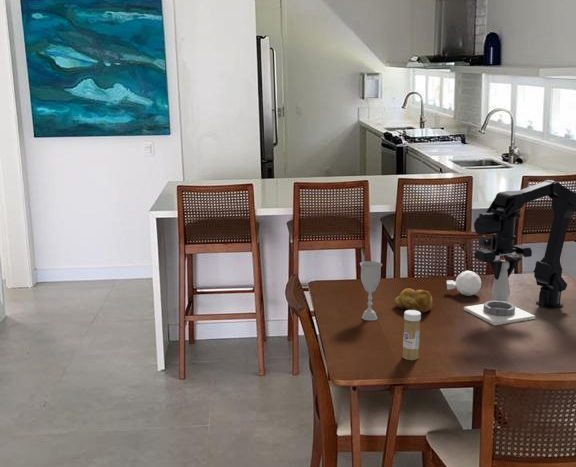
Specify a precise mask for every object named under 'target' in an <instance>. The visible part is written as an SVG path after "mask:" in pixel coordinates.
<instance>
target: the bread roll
mask: <svg viewBox="0 0 576 467" xmlns="http://www.w3.org/2000/svg"><path fill="white" fill-rule="evenodd" d="M393 302H394V305H395V307H397V308H398V309H401V310H406V311H407V310H416V311H419V312H420V313H421V314H423V313H427V312H429V311H430V310H431V308H432V307H433V297H432V295H431V293H430V292H429V291H428V290H424V289H417V290H414V289H413V288H410V287H409V288H408V287H407V288H405V289H403V290H402V291H401V292H400V294H399V296H397V297H395V298H394V301H393Z"/></svg>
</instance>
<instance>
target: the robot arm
mask: <svg viewBox="0 0 576 467" xmlns="http://www.w3.org/2000/svg"><path fill="white" fill-rule="evenodd" d="M544 197H548V198H549V199H551V210H552V213H553V218H552V222H551V227H550V231H549V236H548V240H547V243H546V248H545V252H544V256H543V258H542V259H541V260H540V261H539V260H536V262H535V268H534V269H533V273H534V275H533V276H534V278H535V282H536V285H537V286H540V291H539V294H538V295H539V296H538V300H537V301H535V303H536V304H538V305H540V306H541V307H544V308H547V309H554V308H561V307H564V304H563V303H561V299H562V298H561V296H562V292H564V291H566V289H567V286H568V283H567V282H566V280H565V279H564V278H563V277H562V274H563V266H562V264H561V256H562V251H563V248H564V243H565V238H566V235H567V230H568V227H569V222H570V219H571V218H572V217H573V216H574V215H575V213H576V191H573V190H571V189H569V188H567V187H565V186H563V185H562V184H561V183H560V182H558V181H555V180H551V179H546V180H543V182H539V183H537V184H533V185H531V186H527V187H525V188H522V189H519V190H505V191H500V192H497V193H496V195H495V197H494V199H493V201H491V204H490V206H489V207H488V208H487V210H486V213H484V212H481V213H479V214H478V217H477V218H476V219H475V221H474V223H473V228H474V231H475V233H476V234H477V235H479V236H480V237H479V238H478V245H479V247H481V248H480V249H476V250H475V251H474V256H473V257H474V259H476V260H478V261H481V262H484V263H489V265H490V267H491V269H492V273H493V275H494V277H493V278H494V280H495V279H496V280H498V279H499V276H500V271H501V267H502V262H503V261H501V260H502V259H501V257H503V258H504V260H505V261H508V262H509V265H510V266H509V268H508V269H507V271H508V279H509V278H510V276H511V274H512V273H513V271H514V270H515V268H516V266H517V265H518V264H519V263H520V261H522V257H523V258H530V257H532V254H533V251H532V248H531V247H529V246H527V245H525V244H524V245H523V244H515V245H514V242H515V240H517V235H515V226H516V224H515V223H516V219H519V218H521V217H522V215H520V213H518V211H519V210H521V209H523V207H524V206H525V204H527V203H531V202H534V201H535V200H538V199H542V198H544ZM487 235H492V236H491V238H488V237H487ZM482 247H483V249H482ZM489 249H490V250H489ZM520 255H521V256H522V257H520Z"/></svg>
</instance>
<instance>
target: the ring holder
mask: <svg viewBox="0 0 576 467" xmlns="http://www.w3.org/2000/svg"><path fill="white" fill-rule="evenodd" d="M463 310H464V311H465V312H468V313H469V314H472V315H474V317H477V318H479V319H481V320H483V321H485V322H487V323H488V324H490V325H493V326H499V325H505V324H511V323H512V324H513V323H517V322H518V323H519V322H524V321H529V320H535V319H536V315H534V314H532V313H530V312H527V311H525V310H523V309H521V308H518V307H516V306H515V305H514V304H513V303H511V302H508V301H496V300H487V301H485V302H484V303H480V304H474V305H467V306H463Z"/></svg>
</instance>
